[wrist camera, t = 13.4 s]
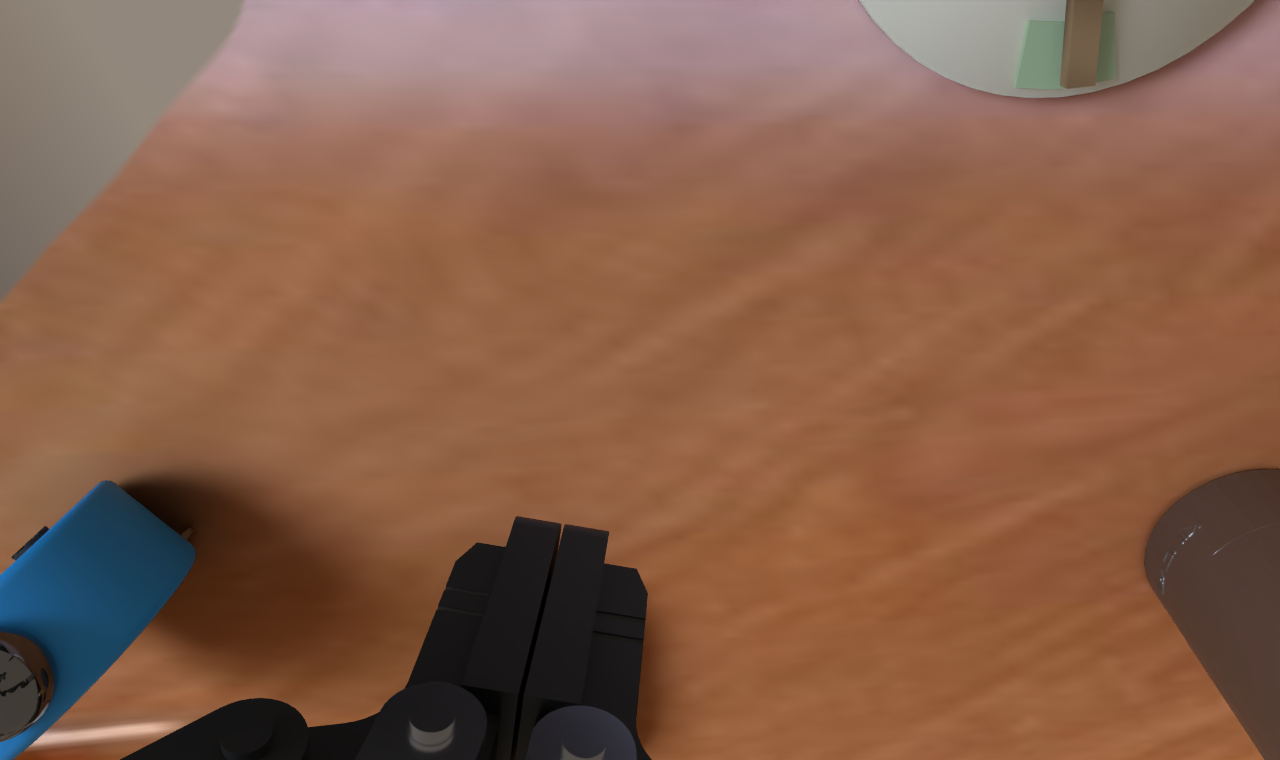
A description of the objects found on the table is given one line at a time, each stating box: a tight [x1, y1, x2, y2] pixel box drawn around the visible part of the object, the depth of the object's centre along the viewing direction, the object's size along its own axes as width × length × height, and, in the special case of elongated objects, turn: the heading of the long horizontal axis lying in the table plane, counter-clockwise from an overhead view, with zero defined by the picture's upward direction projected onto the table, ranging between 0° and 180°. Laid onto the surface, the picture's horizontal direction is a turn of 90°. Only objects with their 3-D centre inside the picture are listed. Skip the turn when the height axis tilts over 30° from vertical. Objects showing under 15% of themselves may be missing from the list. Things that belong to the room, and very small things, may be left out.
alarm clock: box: [0, 480, 196, 760], centre depth 43 cm, size 13×6×15 cm, turn 131°
